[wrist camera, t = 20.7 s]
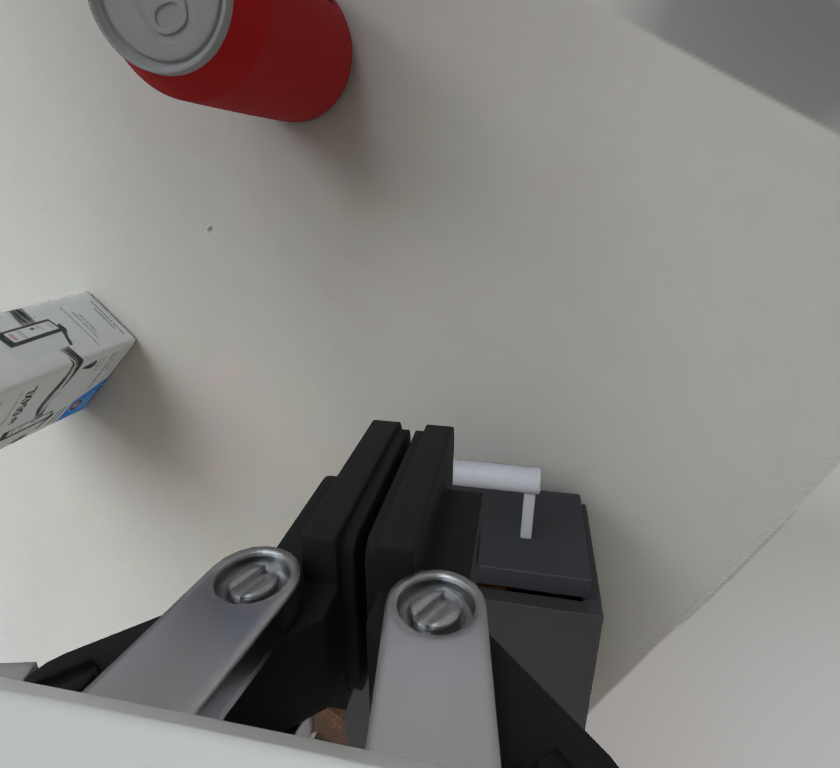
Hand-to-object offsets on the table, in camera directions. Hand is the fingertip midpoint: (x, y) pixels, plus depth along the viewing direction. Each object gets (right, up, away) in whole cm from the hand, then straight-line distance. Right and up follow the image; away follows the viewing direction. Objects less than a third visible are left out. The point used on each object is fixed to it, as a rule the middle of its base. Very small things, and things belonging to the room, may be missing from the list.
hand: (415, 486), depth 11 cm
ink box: (-24, +5, +28) cm, 37 cm away
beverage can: (-6, +20, +18) cm, 28 cm away
